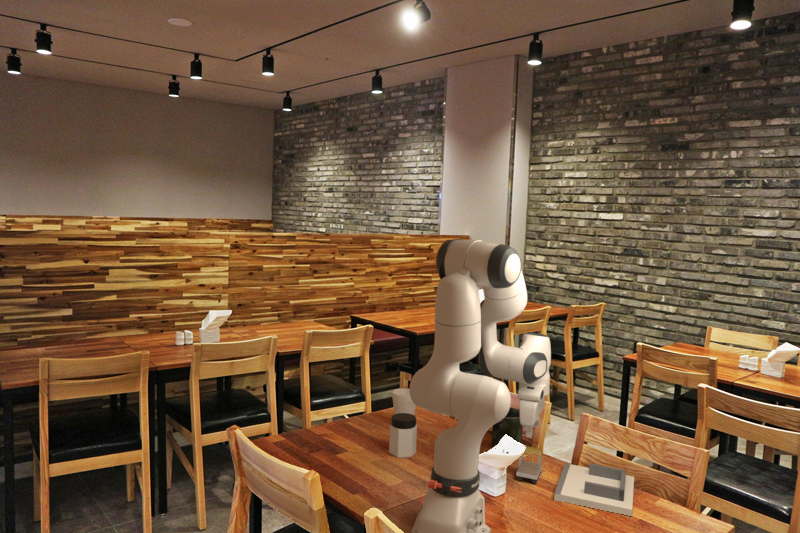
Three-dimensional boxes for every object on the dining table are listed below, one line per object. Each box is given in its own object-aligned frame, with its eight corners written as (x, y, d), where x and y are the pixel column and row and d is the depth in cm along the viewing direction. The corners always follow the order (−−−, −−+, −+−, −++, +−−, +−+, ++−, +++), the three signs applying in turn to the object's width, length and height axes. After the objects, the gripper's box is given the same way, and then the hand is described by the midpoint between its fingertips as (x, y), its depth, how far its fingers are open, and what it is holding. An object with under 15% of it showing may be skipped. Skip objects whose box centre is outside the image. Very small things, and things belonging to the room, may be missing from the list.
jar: (421, 454, 186) (422, 418, 185) (401, 460, 181) (403, 423, 180) (403, 445, 193) (404, 410, 192) (384, 451, 188) (385, 415, 187)
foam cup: (416, 431, 206) (418, 396, 205) (391, 431, 206) (392, 395, 205) (415, 422, 216) (417, 388, 215) (391, 421, 215) (392, 388, 214)
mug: (528, 445, 196) (529, 411, 196) (509, 459, 185) (511, 423, 184) (499, 437, 203) (501, 404, 202) (479, 450, 191) (481, 415, 190)
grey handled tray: (537, 485, 166) (538, 455, 166) (515, 481, 169) (516, 451, 168) (542, 473, 175) (544, 444, 174) (521, 469, 177) (522, 440, 176)
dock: (631, 517, 150) (633, 498, 150) (554, 500, 158) (555, 482, 158) (633, 483, 170) (634, 466, 170) (564, 469, 178) (565, 453, 178)
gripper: (530, 375, 180) (528, 418, 182) (516, 394, 162) (514, 441, 163) (550, 378, 178) (548, 421, 179) (538, 397, 159) (536, 445, 161)
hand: (532, 431), depth 171 cm, fingers open, 8 cm apart
